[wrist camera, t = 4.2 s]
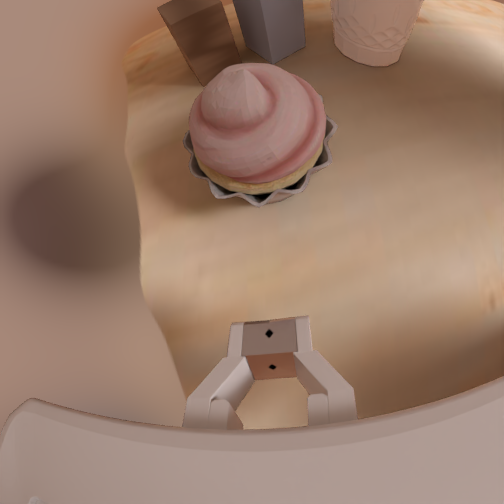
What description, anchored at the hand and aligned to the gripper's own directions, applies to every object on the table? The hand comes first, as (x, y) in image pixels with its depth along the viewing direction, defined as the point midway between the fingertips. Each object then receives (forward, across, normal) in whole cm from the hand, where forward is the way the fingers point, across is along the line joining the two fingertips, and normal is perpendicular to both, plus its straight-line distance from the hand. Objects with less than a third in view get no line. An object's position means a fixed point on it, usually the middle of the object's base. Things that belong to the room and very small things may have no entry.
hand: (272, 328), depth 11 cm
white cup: (+22, -12, -10) cm, 27 cm away
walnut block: (+22, +3, -10) cm, 24 cm away
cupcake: (+14, 0, -2) cm, 14 cm away
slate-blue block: (+22, -2, -11) cm, 25 cm away
